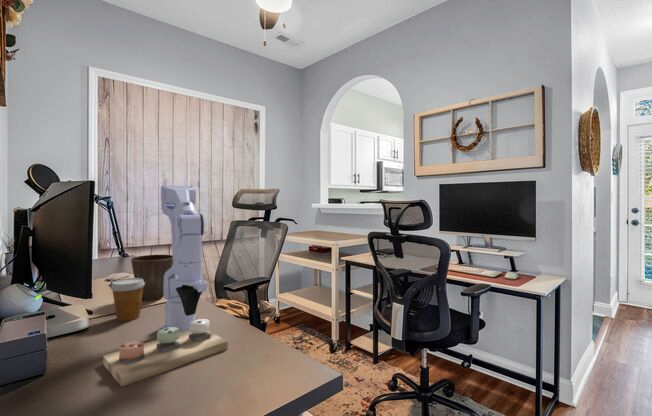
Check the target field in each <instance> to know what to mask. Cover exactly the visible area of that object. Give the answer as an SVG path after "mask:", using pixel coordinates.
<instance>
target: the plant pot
mask: <svg viewBox="0 0 652 416" xmlns="http://www.w3.org/2000/svg"><path fill="white" fill-rule="evenodd" d="M130 261H131V267H132V272H133V273H132V274H133V276H134V277H133V278H141V279H143V281H144V283H145V284H144V287H143V293H142V301H155V300H156V299H157V300H160V299H159V298H161V299H162V297H163V298H164V291H163V282H164V274H165V272H166V271H168V270H169V269H170V268H171V267H173V254H147V255H139V256H133V257H131V259H130ZM157 300H156V301H157Z"/></svg>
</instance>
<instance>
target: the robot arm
mask: <svg viewBox="0 0 652 416" xmlns="http://www.w3.org/2000/svg"><path fill="white" fill-rule="evenodd" d="M196 201H197V190H196V187H195V186H194V185H172V184H171V185H167V184H162V185H161V186H160V202H161V204H160V205H161V211H162V214H163V215H165V216H167V217H168V219H169V223H170V229H171V230H170V231H171V233H170V235H171V250H172V253H171V254H172V255H173V267H171V268H170V269H169V270H168V271H166V272H165V274H164V282H163V291H164V296H163V299H165V300H166V301H165V304H164V324H163V325H161V329H164V328H168V327H176V328H179V333H183V332H186V331H190V322H191V321H194V320H196V311H197V307H198V304H199V300H200V298H201V296H202V293H203V292H207V291H208V283H207V282H206V281H205V280H204V277H203V262H202V261H203V253H202V251H203V248H202V246H203V243H202V239H203V238H202V237H203V236H204V233H205V219H204V214H202V213H198V209H197V208H196Z"/></svg>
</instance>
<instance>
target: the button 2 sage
mask: <svg viewBox="0 0 652 416" xmlns="http://www.w3.org/2000/svg"><path fill="white" fill-rule="evenodd" d="M156 336H157V337H156V338H157V339H156V340H157V342H159V343H170V342H173V341H176V340H177V339H179V328H176V327H168V328H161V329H159V330H157V333H156Z"/></svg>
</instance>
